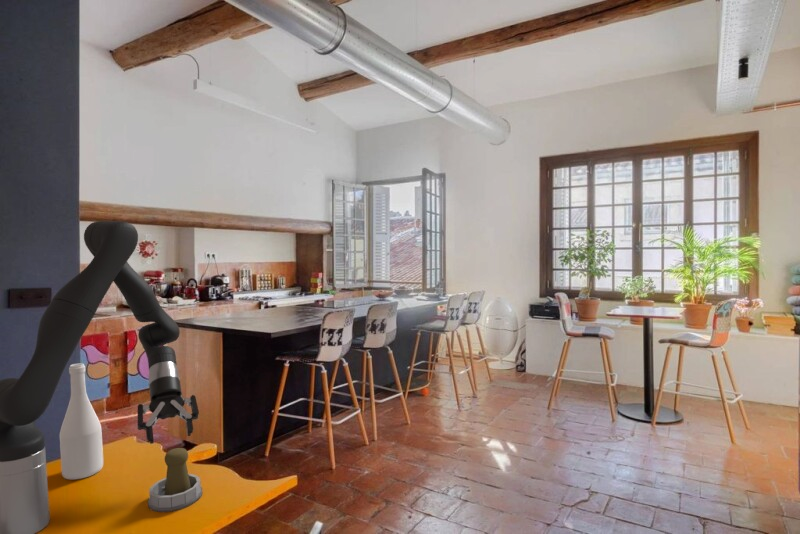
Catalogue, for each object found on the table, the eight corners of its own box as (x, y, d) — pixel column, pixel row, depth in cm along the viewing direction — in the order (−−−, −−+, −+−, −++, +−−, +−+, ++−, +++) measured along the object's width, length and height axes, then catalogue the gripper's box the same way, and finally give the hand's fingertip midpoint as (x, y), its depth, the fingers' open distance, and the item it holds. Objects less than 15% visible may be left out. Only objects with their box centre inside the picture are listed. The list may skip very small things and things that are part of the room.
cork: (181, 501, 113) (178, 456, 112) (158, 499, 114) (156, 454, 113) (196, 488, 119) (194, 445, 118) (175, 486, 120) (173, 444, 119)
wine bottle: (108, 471, 130) (102, 364, 129) (66, 484, 123) (59, 371, 122) (98, 461, 137) (92, 358, 135) (58, 473, 130) (51, 365, 128)
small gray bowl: (150, 518, 108) (149, 503, 107) (146, 494, 118) (145, 481, 118) (206, 501, 114) (205, 488, 114) (198, 480, 124) (197, 468, 124)
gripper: (134, 379, 123) (138, 438, 113) (194, 371, 130) (202, 425, 121) (134, 394, 127) (138, 451, 118) (192, 385, 135) (200, 438, 126)
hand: (171, 438), depth 120 cm, fingers open, 8 cm apart
